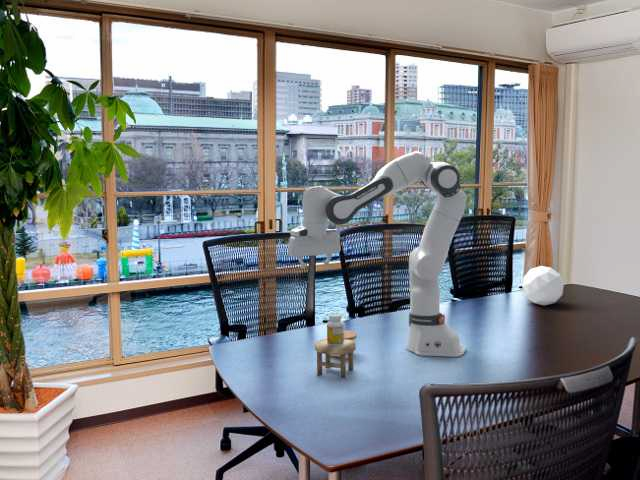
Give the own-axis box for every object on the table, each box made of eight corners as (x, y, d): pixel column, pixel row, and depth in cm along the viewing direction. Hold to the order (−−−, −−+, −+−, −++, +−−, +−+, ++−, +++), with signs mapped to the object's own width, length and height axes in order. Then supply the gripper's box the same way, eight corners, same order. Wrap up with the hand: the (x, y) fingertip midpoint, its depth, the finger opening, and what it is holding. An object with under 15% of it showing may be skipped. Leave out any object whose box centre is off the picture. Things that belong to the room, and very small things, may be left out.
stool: (360, 367, 214) (360, 340, 212) (348, 381, 201) (348, 352, 199) (323, 363, 219) (322, 336, 217) (309, 376, 206) (308, 348, 204)
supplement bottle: (326, 342, 211) (325, 313, 210) (342, 341, 212) (342, 312, 210) (328, 346, 205) (327, 317, 204) (344, 346, 206) (344, 316, 205)
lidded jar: (360, 350, 233) (359, 327, 232) (352, 359, 223) (352, 334, 222) (333, 348, 236) (333, 324, 235) (324, 356, 226) (324, 332, 225)
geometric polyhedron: (549, 319, 300) (559, 293, 286) (511, 301, 309) (519, 274, 295) (565, 295, 310) (575, 269, 296) (528, 278, 319) (536, 252, 305)
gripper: (335, 227, 232) (336, 263, 233) (286, 230, 223) (286, 267, 225) (343, 229, 226) (343, 266, 228) (292, 232, 217) (293, 270, 219)
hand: (314, 267), depth 226 cm, fingers open, 8 cm apart
